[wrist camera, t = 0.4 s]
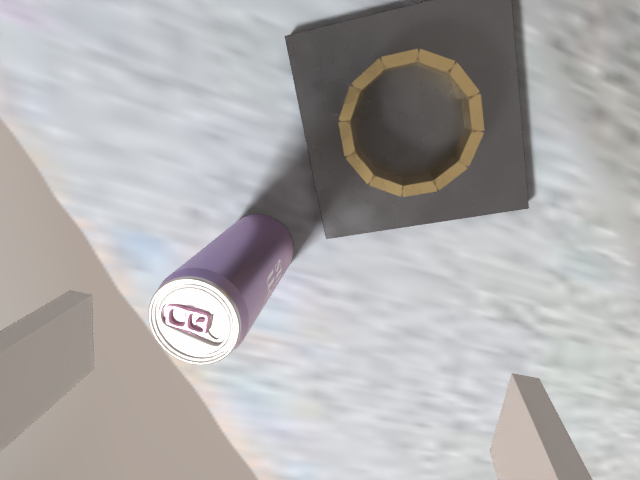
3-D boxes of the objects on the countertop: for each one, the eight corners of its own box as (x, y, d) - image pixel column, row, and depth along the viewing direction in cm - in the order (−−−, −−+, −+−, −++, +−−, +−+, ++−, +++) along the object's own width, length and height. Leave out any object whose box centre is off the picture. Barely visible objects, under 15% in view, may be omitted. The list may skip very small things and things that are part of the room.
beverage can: (235, 204, 40) (150, 263, 26) (301, 221, 40) (250, 290, 26) (225, 266, 42) (140, 352, 28) (287, 283, 42) (233, 379, 28)
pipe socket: (288, 38, 36) (273, 29, 31) (505, -16, 33) (523, -33, 28) (327, 234, 40) (319, 252, 36) (524, 204, 37) (542, 219, 32)
